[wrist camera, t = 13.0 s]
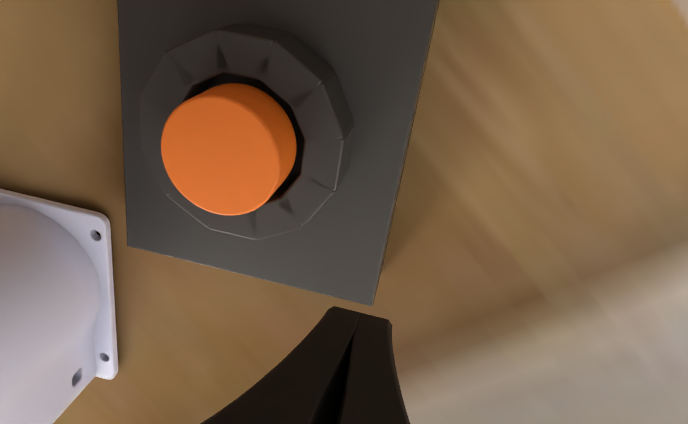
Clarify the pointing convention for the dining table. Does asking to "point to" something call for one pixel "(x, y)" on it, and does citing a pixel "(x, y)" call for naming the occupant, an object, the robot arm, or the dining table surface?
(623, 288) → the dining table surface
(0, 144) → the dining table surface
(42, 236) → the robot arm
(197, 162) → the button
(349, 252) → the control block
